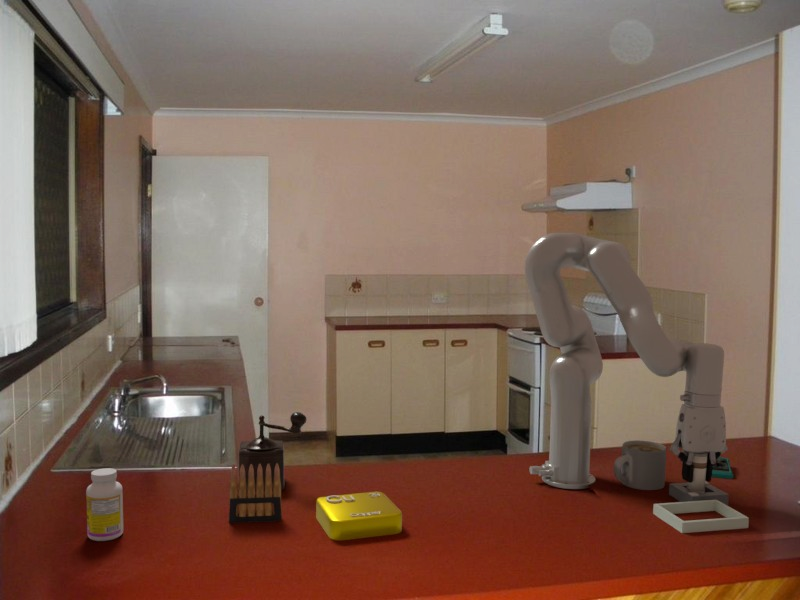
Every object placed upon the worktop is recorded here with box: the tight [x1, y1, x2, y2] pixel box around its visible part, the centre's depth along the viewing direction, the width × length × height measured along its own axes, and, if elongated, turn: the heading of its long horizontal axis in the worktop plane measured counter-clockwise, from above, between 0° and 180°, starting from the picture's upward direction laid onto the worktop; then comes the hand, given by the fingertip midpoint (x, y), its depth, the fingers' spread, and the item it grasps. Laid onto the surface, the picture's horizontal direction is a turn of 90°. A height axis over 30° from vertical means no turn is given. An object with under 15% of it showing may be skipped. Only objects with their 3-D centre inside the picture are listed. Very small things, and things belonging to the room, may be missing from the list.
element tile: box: [315, 491, 403, 541], centre depth 168 cm, size 15×15×5 cm
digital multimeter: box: [711, 456, 734, 480], centre depth 206 cm, size 7×15×3 cm, turn 162°
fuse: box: [686, 452, 708, 493], centre depth 182 cm, size 4×4×9 cm
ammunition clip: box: [228, 463, 283, 524], centre depth 168 cm, size 11×2×12 cm, turn 98°
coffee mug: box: [613, 439, 667, 491], centre depth 193 cm, size 13×10×10 cm
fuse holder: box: [668, 480, 730, 506], centre depth 182 cm, size 9×9×4 cm
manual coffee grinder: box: [238, 411, 307, 493], centre depth 190 cm, size 16×11×18 cm
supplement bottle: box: [85, 467, 124, 542], centre depth 159 cm, size 7×7×13 cm
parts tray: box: [652, 500, 750, 534], centre depth 170 cm, size 15×11×3 cm
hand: (696, 479), depth 182 cm, fingers closed on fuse, 3 cm apart
